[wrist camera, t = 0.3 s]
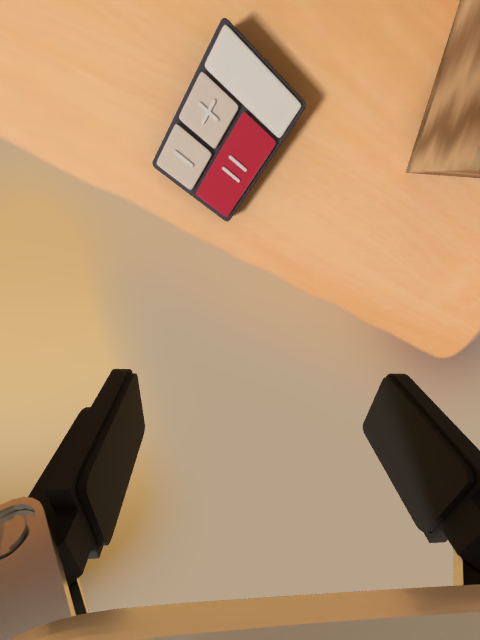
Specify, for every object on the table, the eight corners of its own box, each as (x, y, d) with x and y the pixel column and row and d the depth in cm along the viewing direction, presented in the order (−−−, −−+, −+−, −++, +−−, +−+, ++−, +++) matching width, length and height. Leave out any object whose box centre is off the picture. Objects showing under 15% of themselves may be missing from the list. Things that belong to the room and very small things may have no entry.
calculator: (148, 165, 29) (223, 9, 23) (158, 165, 33) (224, 31, 27) (227, 224, 33) (309, 102, 27) (228, 218, 36) (300, 110, 31)
